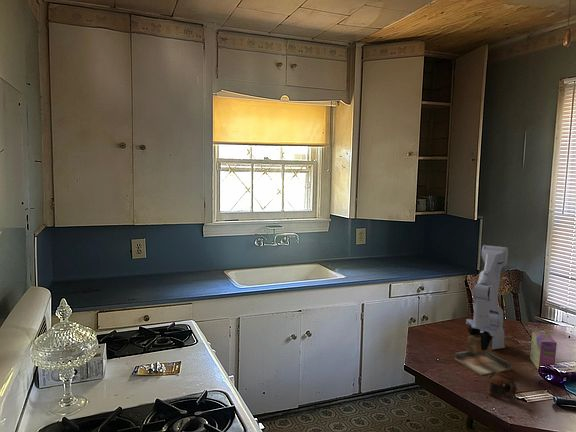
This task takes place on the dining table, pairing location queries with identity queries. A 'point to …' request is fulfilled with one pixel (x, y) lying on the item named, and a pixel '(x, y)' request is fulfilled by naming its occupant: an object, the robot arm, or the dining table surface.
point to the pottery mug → (501, 385)
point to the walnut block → (477, 345)
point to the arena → (482, 362)
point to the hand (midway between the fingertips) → (479, 347)
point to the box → (542, 349)
